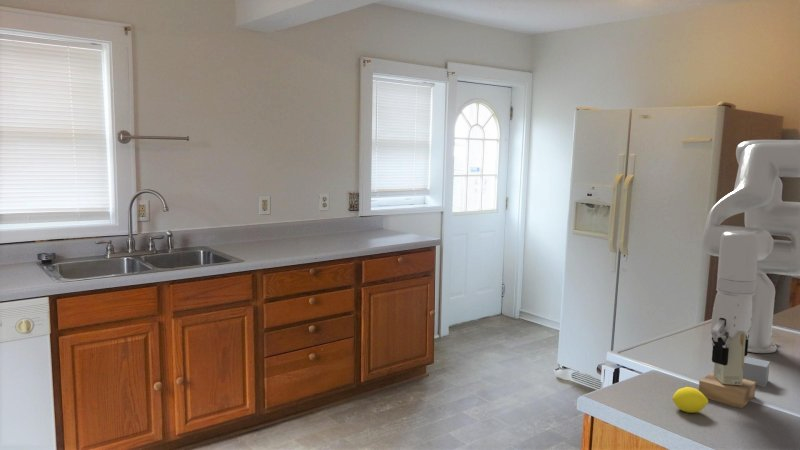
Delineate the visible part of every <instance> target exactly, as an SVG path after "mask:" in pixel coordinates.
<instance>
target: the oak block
mask: <svg viewBox="0 0 800 450" xmlns="http://www.w3.org/2000/svg"><path fill="white" fill-rule="evenodd" d="M713 373H714V370H713V371H712V372H710V373H708V374H707V375H705V376H704V377H702V379H700V380H699V381H698V382H699V383H698V390H699V391H700V392H701V393H702V394H703V395H704V396H705V397H706V398H707V399H708V400H712V401H715V402H718V403H719V402H720V403H723V404H725V405H728V406H729V405H730V406H733V407H736V408H738V409H739V408H740V409H742V408H744V407H745V406H746V405H747V404H748V403H749V402H751V400H753V399H754V398H755V396H756V395H755V394H756V386H757V385H756V382H754V381H750V380H746V379H743V381H742V385H741V386H740V385H729V384H722V383H721V382H720V381H719V380H718V379H717V378H716V377H715V376H714V375H713ZM753 397H754V398H753ZM752 398H753V399H752Z"/></svg>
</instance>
